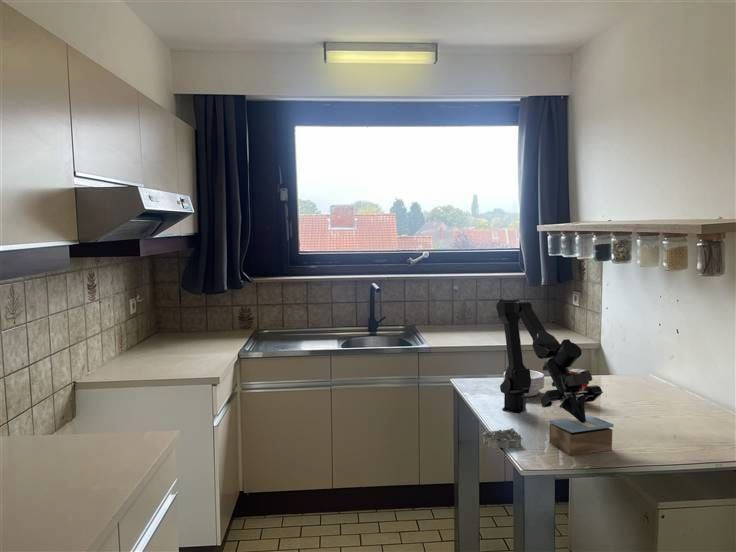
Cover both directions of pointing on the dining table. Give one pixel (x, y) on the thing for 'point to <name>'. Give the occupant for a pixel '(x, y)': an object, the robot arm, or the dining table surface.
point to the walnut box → (581, 440)
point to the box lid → (581, 424)
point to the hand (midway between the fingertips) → (584, 422)
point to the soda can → (578, 371)
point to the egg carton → (502, 439)
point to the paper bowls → (535, 382)
